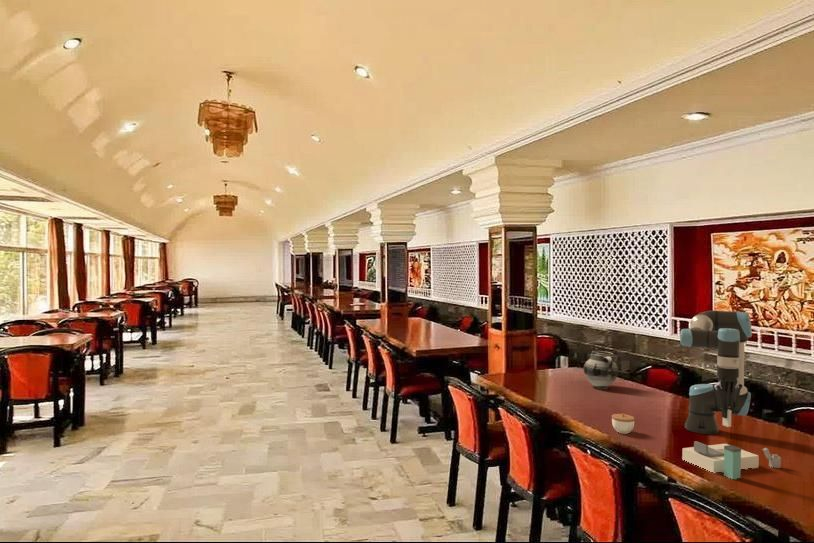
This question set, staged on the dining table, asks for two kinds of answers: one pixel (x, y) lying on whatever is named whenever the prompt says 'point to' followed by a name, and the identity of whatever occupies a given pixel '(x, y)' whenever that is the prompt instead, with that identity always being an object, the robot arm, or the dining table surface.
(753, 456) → the socket
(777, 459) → the lighter
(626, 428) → the lidded jar
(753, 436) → the dining table surface
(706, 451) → the shutter
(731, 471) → the plug
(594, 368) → the ceramic pot
